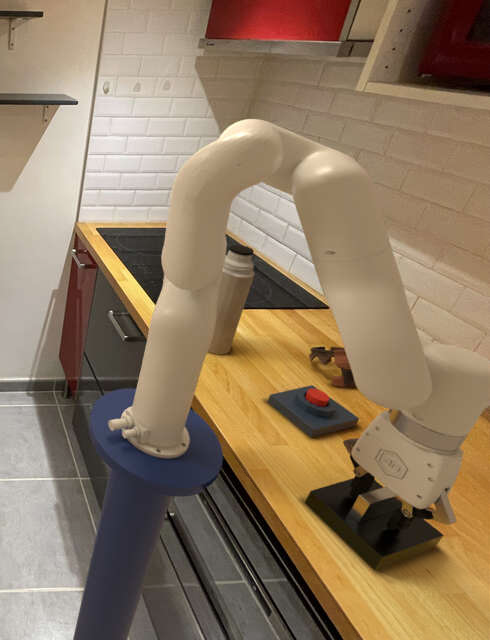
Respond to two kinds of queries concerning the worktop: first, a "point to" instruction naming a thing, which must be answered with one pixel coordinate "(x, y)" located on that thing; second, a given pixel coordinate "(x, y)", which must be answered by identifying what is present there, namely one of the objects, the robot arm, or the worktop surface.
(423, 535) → the base
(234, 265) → the thermos bottle
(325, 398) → the button
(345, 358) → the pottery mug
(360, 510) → the silver lever handle
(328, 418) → the red push button box
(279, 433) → the worktop surface
